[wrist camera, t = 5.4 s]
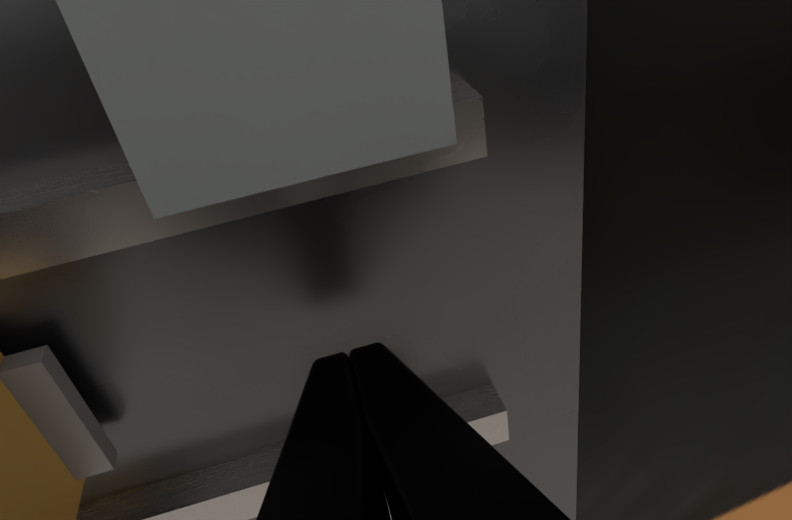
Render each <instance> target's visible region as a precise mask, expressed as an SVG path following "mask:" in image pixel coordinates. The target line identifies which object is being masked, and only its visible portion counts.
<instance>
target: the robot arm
mask: <svg viewBox="0 0 792 520" xmlns="http://www.w3.org/2000/svg"><path fill="white" fill-rule="evenodd" d="M349 358H350V359H349ZM386 499H387V500H386ZM387 503H388V504H387ZM388 507H389V508H388ZM389 510H390V513H389ZM390 514H391V517H392V520H571V519H570V518H569V517H567V516H566V515H565V514H564V513H563V512H562V511H561V510H560V509H559V508H558V507H557V506H556V505H555V504H554V503H553V502H551V501H550V500H549V499H548V498H547V497H546V496H545V495H544V494H543V493H542V492H541V491H540V490H539V489H538V488H536V487H535V486H534V485H533V484H532V483H531V482H530V481H529V480H528V479H527V478H526V477H525V476H524V475H523V474H522V473H520V472H519V471H518V470H517V469H516V468H515V467H514V466H513V465H512V464H511V463H510V462H509V461H508V460H507V459H506V458H504V457H503V456H502V455H501V454H500V453H499V452H498V451H497V450H496V449H495V448H494V447H493V446H492V445H491V444H490V443H488V442H487V441H486V440H485V439H484V438H483V437H482V436H481V435H480V434H479V433H478V432H477V431H476V430H475V429H474V428H472V427H471V426H470V425H469V424H468V423H467V422H466V421H465V420H464V419H463V418H462V417H461V416H460V415H459V414H458V413H456V412H455V411H454V410H453V409H452V408H451V407H450V406H449V405H448V404H447V403H446V402H445V401H444V400H443V399H442V398H440V397H439V396H438V395H437V394H436V393H435V392H434V391H433V390H432V389H431V388H430V387H429V386H428V385H427V384H426V383H424V382H423V381H422V380H421V379H420V378H419V377H418V376H417V375H416V374H415V373H414V372H413V371H412V370H411V369H410V368H408V367H407V366H406V365H405V364H404V363H403V362H402V361H401V360H400V359H399V358H398V357H397V356H396V355H395V354H393V353H392V352H391V351H390V350H389V349H388V348H387V347H386V346H385V345H384V344H382V343H379V342H376V343H372V344H368V345H365V346H361V347H358V348H354V349H352V350H351V351H350V353H349V356H348V354H347V353H345V352H340V353H336V354H332V355H329V356H325V357H321V358H318V359H316V360H315V361H314V362H313V364H312V367H311V369H310V372H309V375H308V377H307V380H306V383H305V386H304V389H303V391H302V394H301V397H300V400H299V402H298V405H297V408H296V411H295V413H294V416H293V419H292V422H291V425H290V427H289V430H288V433H287V436H286V438H285V441H284V444H283V447H282V449H281V452H280V455H279V458H278V460H277V463H276V466H275V469H274V472H273V474H272V477H271V480H270V483H269V485H268V488H267V491H266V494H265V496H264V499H263V502H262V505H261V508H260V510H259V513H258V516H257V519H256V520H391V517H390Z"/></svg>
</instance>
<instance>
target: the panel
mask: <svg viewBox="0 0 792 520" xmlns="http://www.w3.org/2000/svg"><path fill="white" fill-rule="evenodd" d="M587 5H588V0H442V8H443V17H444V27H445V36H446V45H447V55H448V64H449V73H450V83H451V92H452V102H453V111H454V120H455V130H456V139H457V144H453V145H449V146H445V147H441V148H437V149H433V150H429V151H425V152H421V153H417V154H413V155H409V156H405V157H401V158H397V159H393V160H389V161H385V162H381V163H377V164H373V165H369V166H365V167H361V168H357V169H353V170H349V171H345V172H341V173H337V174H333V175H329V176H325V177H321V178H317V179H313V180H309V181H305V182H301V183H297V184H293V185H289V186H285V187H281V188H277V189H273V190H269V191H265V192H261V193H257V194H253V195H249V196H245V197H241V198H237V199H233V200H229V201H225V202H221V203H217V204H213V205H209V206H205V207H201V208H197V209H193V210H189V211H185V212H181V213H177V214H173V215H168V216H164V217H160V218H156V219H154V218H153V216H152V214H151V211H150V209H149V207H148V205H147V203H146V200H145V198H144V196H143V194H142V191H141V189H140V187H139V185H138V182H137V180H136V178H135V176H134V174H133V171H132V169H131V167H130V165H129V162H128V160H127V158H126V156H125V154H124V151H123V149H122V147H121V145H120V142H119V140H118V138H117V136H116V134H115V131H114V129H113V127H112V125H111V122H110V120H109V118H108V116H107V113H106V111H105V109H104V107H103V105H102V102H101V100H100V98H99V96H98V93H97V91H96V89H95V87H94V85H93V82H92V80H91V78H90V76H89V73H88V71H87V69H86V67H85V64H84V62H83V60H82V58H81V56H80V53H79V51H78V49H77V47H76V44H75V42H74V40H73V38H72V36H71V33H70V31H69V29H68V27H67V24H66V22H65V20H64V18H63V16H62V13H61V11H60V9H59V7H58V4H57V2H56V0H0V352H1V353H2V354H3V356H8V355H12V354H15V353H19V352H23V351H27V350H31V349H34V348H38V347H42V346H46V345H48V347H49V348H50V350H51V351H52V353H53V354H54V356H55V357H56V359H57V360H58V362H59V363H60V365H61V366H62V368H63V369H64V371H65V372H66V374H67V375H68V377H69V378H70V380H71V382H72V383H73V385H74V386H75V388H76V389H77V391H78V392H79V394H80V395H81V397H82V398H83V400H84V401H85V403H86V404H87V406H88V407H89V409H90V410H91V412H92V413H93V415H94V417H95V418H96V420H97V421H98V423H99V424H100V426H101V427H102V429H103V430H104V432H105V433H106V435H107V436H108V438H109V439H110V441H111V442H112V444H113V445H114V447H115V448H116V450H117V457H116V462H115V468H114V469H113V470H110V471H106V472H103V473H99V474H96V475H92V476H89V477H85V482H84V486H83V491H82V495H81V499H80V504H79V508H78V513H77V517H76V520H256V519H257V516H258V513H259V510H260V508H261V505H262V502H263V499H264V496H265V494H266V491H267V488H268V485H269V483H270V480H271V477H272V474H273V472H274V469H275V466H276V463H277V460H278V458H279V455H280V452H281V449H282V447H283V444H284V441H285V438H286V436H287V433H288V430H289V427H290V425H291V422H292V419H293V416H294V413H295V411H296V408H297V405H298V402H299V400H300V397H301V394H302V391H303V389H304V386H305V383H306V380H307V377H308V375H309V372H310V369H311V367H312V364H313V362H314V361H315V360H316V359H318V358H321V357H325V356H329V355H332V354H336V353H340V352H345V353H347V354H348V356H349V353H350V351H351V350H352V349H354V348H358V347H361V346H365V345H368V344H372V343H376V342H379V343H382V344H384V345H385V346H386V347H387V348H388V349H389V350H390V351H391V352H392V353H393V354H395V355H396V356H397V357H398V358H399V359H400V360H401V361H402V362H403V363H404V364H405V365H406V366H407V367H408V368H410V369H411V370H412V371H413V372H414V373H415V374H416V375H417V376H418V377H419V378H420V379H421V380H422V381H423V382H424V383H426V384H427V385H428V386H429V387H430V388H431V389H432V390H433V391H434V392H435V393H436V394H437V395H438V396H439V397H440V398H442V399H443V400H444V401H445V402H446V403H447V404H448V405H449V406H450V407H451V408H452V409H453V410H454V411H455V412H456V413H458V414H459V415H460V416H461V417H462V418H463V419H464V420H465V421H466V422H467V423H468V424H469V425H470V426H471V427H472V428H474V429H475V430H476V431H477V432H478V433H479V434H480V435H481V436H482V437H483V438H484V439H485V440H486V441H487V442H488V443H490V444H491V445H492V446H493V447H494V448H495V449H496V450H497V451H498V452H499V453H500V454H501V455H502V456H503V457H504V458H506V459H507V460H508V461H509V462H510V463H511V464H512V465H513V466H514V467H515V468H516V469H517V470H518V471H519V472H520V473H522V474H523V475H524V476H525V477H526V478H527V479H528V480H529V481H530V482H531V483H532V484H533V485H534V486H535V487H536V488H538V489H539V490H540V491H541V492H542V493H543V494H544V495H545V496H546V497H547V498H548V499H549V500H550V501H551V502H553V503H554V504H555V505H556V506H557V507H558V508H559V509H560V510H561V511H562V512H563V513H564V514H565V515H566V516H567V517H569V518H570V519H571V520H576V494H577V449H578V405H579V361H580V316H581V272H582V227H583V183H584V139H585V94H586V50H587ZM349 359H350V358H349Z"/></svg>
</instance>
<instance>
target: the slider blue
mask: <svg viewBox="0 0 792 520" xmlns="http://www.w3.org/2000/svg"><path fill="white" fill-rule="evenodd" d="M56 2H57V4H58V7H59V9H60V11H61V13H62V16H63V18H64V20H65V22H66V24H67V27H68V29H69V31H70V33H71V36H72V38H73V40H74V42H75V44H76V47H77V49H78V51H79V53H80V56H81V58H82V60H83V62H84V64H85V67H86V69H87V71H88V73H89V76H90V78H91V80H92V82H93V85H94V87H95V89H96V91H97V93H98V96H99V98H100V100H101V102H102V105H103V107H104V109H105V111H106V113H107V116H108V118H109V120H110V122H111V125H112V127H113V129H114V131H115V134H116V136H117V138H118V140H119V142H120V145H121V147H122V149H123V151H124V154H125V156H126V158H127V160H128V162H129V165H130V167H131V169H132V171H133V174H134V176H135V178H136V180H137V182H138V185H139V187H140V189H141V191H142V194H143V196H144V198H145V200H146V203H147V205H148V207H149V209H150V211H151V214H152V216H153V218H154V219H156V218H160V217H164V216H168V215H173V214H177V213H181V212H185V211H189V210H193V209H197V208H201V207H205V206H209V205H213V204H217V203H221V202H225V201H229V200H233V199H237V198H241V197H245V196H249V195H253V194H257V193H261V192H265V191H269V190H273V189H277V188H281V187H285V186H289V185H293V184H297V183H301V182H305V181H309V180H313V179H317V178H321V177H325V176H329V175H333V174H337V173H341V172H345V171H349V170H353V169H357V168H361V167H365V166H369V165H373V164H377V163H381V162H385V161H389V160H393V159H397V158H401V157H405V156H409V155H413V154H417V153H421V152H425V151H429V150H433V149H437V148H441V147H445V146H449V145H453V144H457V139H456V130H455V120H454V111H453V102H452V92H451V83H450V73H449V64H448V55H447V45H446V36H445V27H444V17H443V8H442V0H56Z"/></svg>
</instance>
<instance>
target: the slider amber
mask: <svg viewBox="0 0 792 520" xmlns="http://www.w3.org/2000/svg"><path fill="white" fill-rule="evenodd" d="M116 457H117V450H116V448H115V447H114V445H113V444H112V442H111V441H110V439H109V438H108V436H107V435H106V433H105V432H104V430H103V429H102V427H101V426H100V424H99V423H98V421H97V420H96V418H95V417H94V415H93V413H92V412H91V410H90V409H89V407H88V406H87V404H86V403H85V401H84V400H83V398H82V397H81V395H80V394H79V392H78V391H77V389H76V388H75V386H74V385H73V383H72V382H71V380H70V378H69V377H68V375H67V374H66V372H65V371H64V369H63V368H62V366H61V365H60V363H59V362H58V360H57V359H56V357H55V356H54V354H53V353H52V351H51V350H50V348H49V347H48V345H46V346H42V347H38V348H34V349H31V350H27V351H23V352H19V353H15V354H12V355H8V356H3V354H2V353H1V352H0V520H76V517H77V513H78V508H79V504H80V499H81V495H82V491H83V486H84V482H85V477H89V476H92V475H96V474H99V473H103V472H106V471H110V470H113V469H114V468H115V462H116Z"/></svg>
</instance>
